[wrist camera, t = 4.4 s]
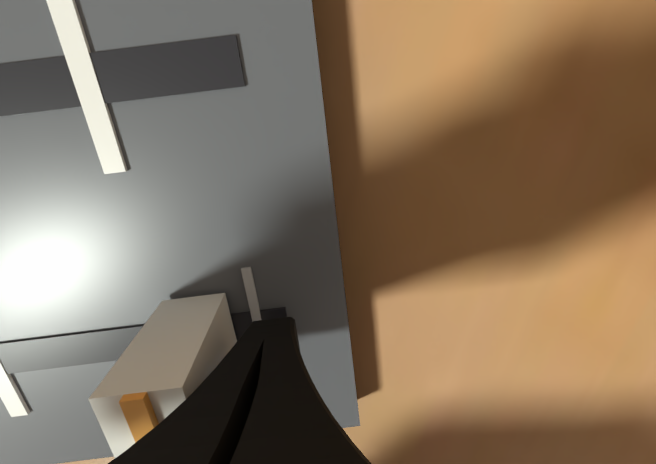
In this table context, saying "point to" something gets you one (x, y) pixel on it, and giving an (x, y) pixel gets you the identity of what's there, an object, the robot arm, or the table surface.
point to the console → (156, 196)
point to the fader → (162, 367)
